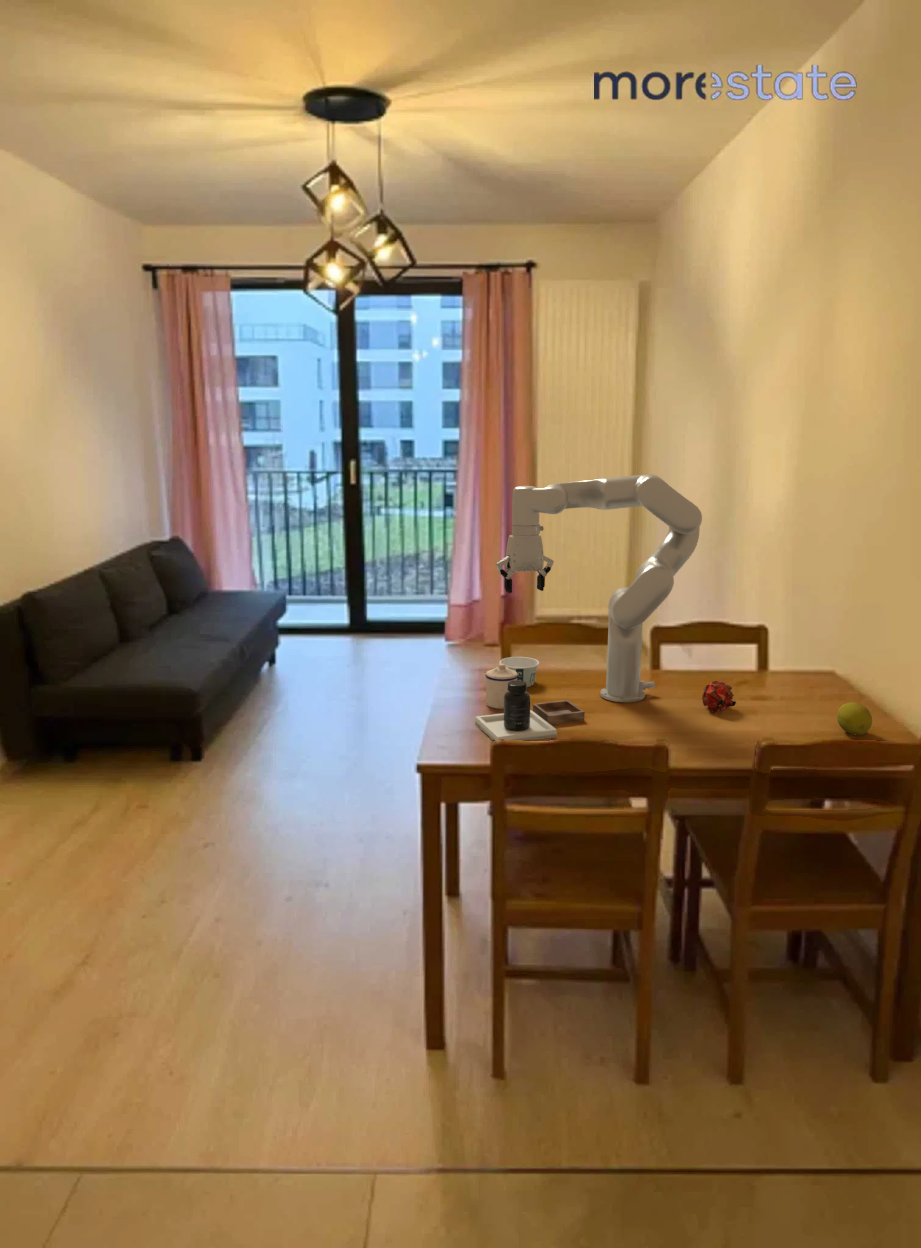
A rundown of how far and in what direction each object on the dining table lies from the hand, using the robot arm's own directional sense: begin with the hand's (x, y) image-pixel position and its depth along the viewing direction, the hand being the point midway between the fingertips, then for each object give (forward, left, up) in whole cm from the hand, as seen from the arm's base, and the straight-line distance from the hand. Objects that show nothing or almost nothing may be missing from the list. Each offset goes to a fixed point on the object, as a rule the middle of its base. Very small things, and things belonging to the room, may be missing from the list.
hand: (524, 591), depth 259 cm
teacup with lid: (+9, +6, -31) cm, 32 cm away
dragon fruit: (-45, +31, -31) cm, 63 cm away
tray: (+14, +28, -30) cm, 44 cm away
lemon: (-67, +58, -31) cm, 94 cm away
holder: (-1, +22, -30) cm, 37 cm away
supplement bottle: (+14, +28, -30) cm, 43 cm away
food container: (-3, -10, -31) cm, 32 cm away
